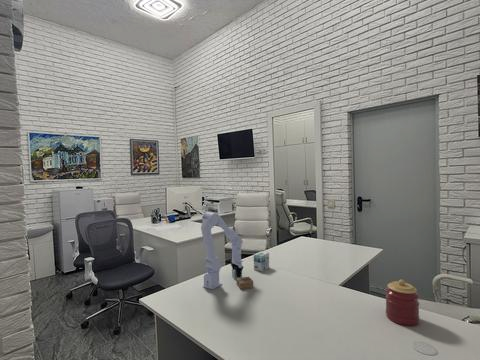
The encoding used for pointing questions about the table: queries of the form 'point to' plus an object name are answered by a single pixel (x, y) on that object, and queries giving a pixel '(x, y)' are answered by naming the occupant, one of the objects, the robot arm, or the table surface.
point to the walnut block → (244, 283)
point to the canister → (402, 303)
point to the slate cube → (235, 274)
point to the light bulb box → (261, 261)
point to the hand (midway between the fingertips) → (236, 275)
